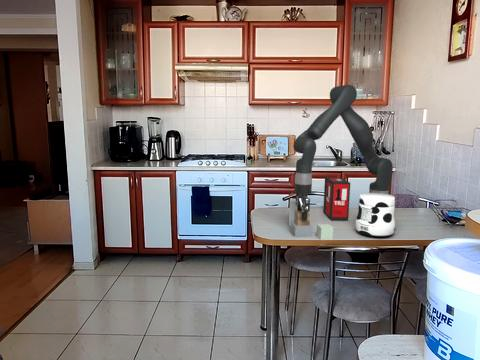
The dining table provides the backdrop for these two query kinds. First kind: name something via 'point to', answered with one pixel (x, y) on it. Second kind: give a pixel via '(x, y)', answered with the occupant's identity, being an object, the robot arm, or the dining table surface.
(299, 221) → the tan wooden cube
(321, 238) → the sage green block
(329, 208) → the cleaning product box
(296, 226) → the grey base block
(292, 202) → the supplement box
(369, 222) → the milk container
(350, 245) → the dining table surface
